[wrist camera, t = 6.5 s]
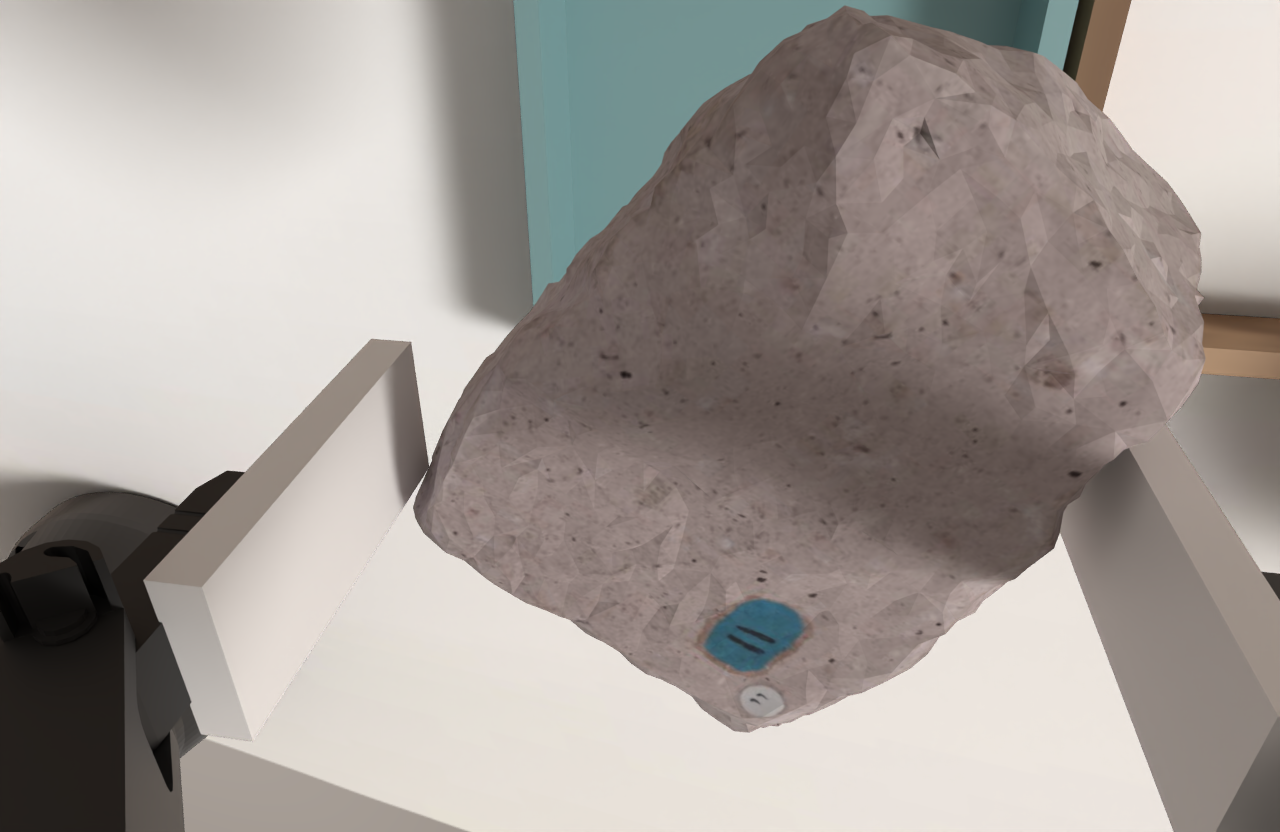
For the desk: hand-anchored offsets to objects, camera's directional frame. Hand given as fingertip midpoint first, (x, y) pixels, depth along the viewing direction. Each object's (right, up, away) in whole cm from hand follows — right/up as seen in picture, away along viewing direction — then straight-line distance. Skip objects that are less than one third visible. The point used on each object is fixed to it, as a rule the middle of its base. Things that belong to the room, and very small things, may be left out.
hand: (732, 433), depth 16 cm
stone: (+1, +1, +2) cm, 3 cm away
